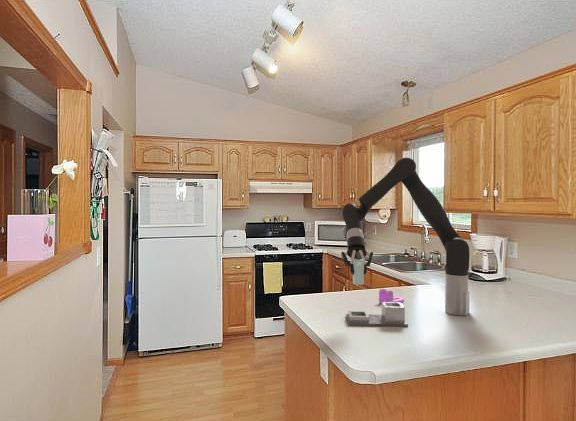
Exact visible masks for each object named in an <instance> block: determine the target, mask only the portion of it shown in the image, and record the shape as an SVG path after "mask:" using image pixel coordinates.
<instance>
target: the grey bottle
mask: <svg viewBox="0 0 576 421" xmlns="http://www.w3.org/2000/svg"><path fill="white" fill-rule="evenodd" d="M353 265H354V275H352V283H353V285H355V286H356V285H360V286H362V285H364V284H365V275H364V260H363V259H360V252H357V259H353Z"/></svg>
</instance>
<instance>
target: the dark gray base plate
mask: <svg viewBox="0 0 576 421" xmlns="http://www.w3.org/2000/svg"><path fill="white" fill-rule="evenodd" d="M405 311H406V308H405V306H404V305H403V304H402V302H401V303H400V302H382V303H381V314H372V313H370V314H368V312H367V311H366V310H365V311H364V310H362V311H361V310H347V313H346V314H345V317H346V318H345V319H346V321H347V324H348V326H349V327H354V326H355V327H395V328H396V327H400V328H402V327H403V328H407V327H409V323H407V321H406V319H405V317H406V312H405Z"/></svg>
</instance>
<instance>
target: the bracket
mask: <svg viewBox="0 0 576 421" xmlns="http://www.w3.org/2000/svg"><path fill="white" fill-rule="evenodd" d="M378 302H380V303H379V304H382V302H400V303H401V304H402V303H404V302H405V298H403V297H401V296H394V292H393V290H391V289H385V288H383V287H382V288H380V289H379V291H378Z"/></svg>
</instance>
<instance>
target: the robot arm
mask: <svg viewBox="0 0 576 421" xmlns="http://www.w3.org/2000/svg"><path fill="white" fill-rule="evenodd" d="M416 169H417V165H416V162H415V160H414V159H412V158H411V157H402V158H400V159H398V160H397V161H396V163H395V164H394V165H393V167H392V168H391V169H390V171H388V172H387V173H386V174H385V175H384V176H383V177H382V178H381V179H380V180H378V182H377V183H375V184H374V185H373V186H372V187H370V188H369V189H368V190H367V191H365V193H363V194H362V195H361V196H360V197H359V199H358V202H359V203H360V205H359V206H358V207H357V206H356V205H355V203H353V202H352V203H351V202H350V203H346V204H345V205H344V206H343V208H342V217H343V221H344V223H345V226H346V228H345V229H346V245H347V251H341V252H340V256H341V260H342V261H343V263H344V265H345V267H349V272H350V274H351V275H352V276H353V275H354V265H353V259H357V252H360V259H363V260H364V276H365V275H366V274H367V273H368V269H367V268H368V267H371V263H372V261H373V260H372V259H373V256H374V253H373V251H371V252H368V251H367V250H366V244H365V236H364V233H363V232H364V231H363V224H362V221H363V220H364V218H365V217H366V216H367V214H368V212H369V211H371V208H373V206H375V205H376V204H377V203H378V202H379V201H380V200H382V199H383V198H384V197H385V196H386V195H387V194H388V193H389V191H391V190H392V189H393V188H394V187H395V186H397V185H398V184H399V183H400V182H401V183H402V185H404V187H405V188H406V190H407V191H408V193H409V194H410V196H411V199H412V200H413V202H414V204H415V206H416V207H417V209H418V211H419V212H420V214H421V216H423V219H425V221H426V223H427V224H428V225H429V226H430V227H431V228H432V229H433V231H434V233H436V235H437V236H438V238H439V239H440V240H439V241H440V242H441V244H442V247H444V250H445V269H444V270H445V271H444V276H445V277H444V278H445V281H444V282H445V283H444V284H445V286H444V293H445V294H444V297H445V299H444V304H445V306H444V308H445V310H444V311H445V313H446V314H449V315H454V316H465V317H466V316H468V314H470V291H469V270H470V246H469V244H468V242H467V241H466V240H464V239H463V238H462V237H461V236H460V234H459V233H458V232H457V231H456V230H455V228H454V227H453V225H452V224H451V222H450V220H449V217H448V214H447V212H446V210H445V209H444V207H443V205H442V203H441V202H440V201H439V200H438V198H437V197H436V195H435V194H434V193H433V191H431V189H429V188H428V186H426V185H425V184H424V183H423V181H422V179H421V177H420V176H419V174H418V173H417V171H416ZM347 256H348V257H347ZM366 257H367V258H368V260H367V261H366V259H365V258H366ZM348 258H350V261H349V260H348Z"/></svg>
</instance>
